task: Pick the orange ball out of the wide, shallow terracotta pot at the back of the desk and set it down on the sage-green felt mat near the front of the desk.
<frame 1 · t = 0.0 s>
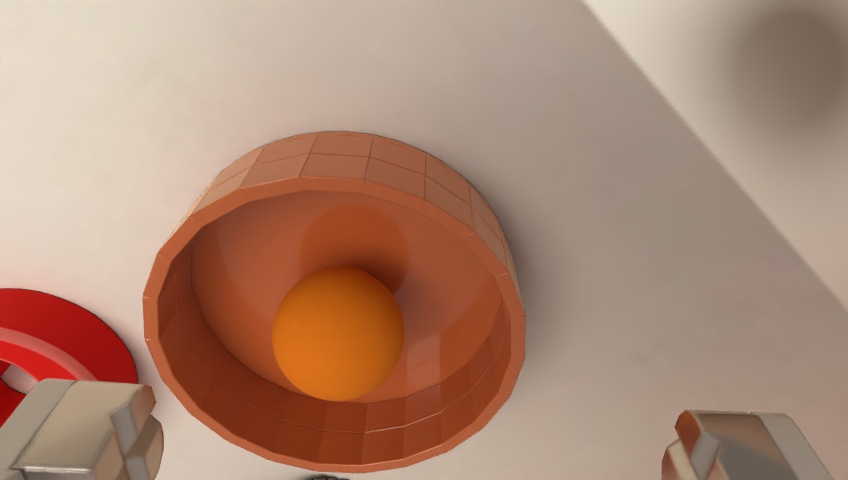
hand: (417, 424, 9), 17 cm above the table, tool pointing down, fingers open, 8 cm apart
pot: (348, 285, 29), on the table
orange: (347, 292, 28), resting on pot
decorative ornament: (45, 361, 32), on the table
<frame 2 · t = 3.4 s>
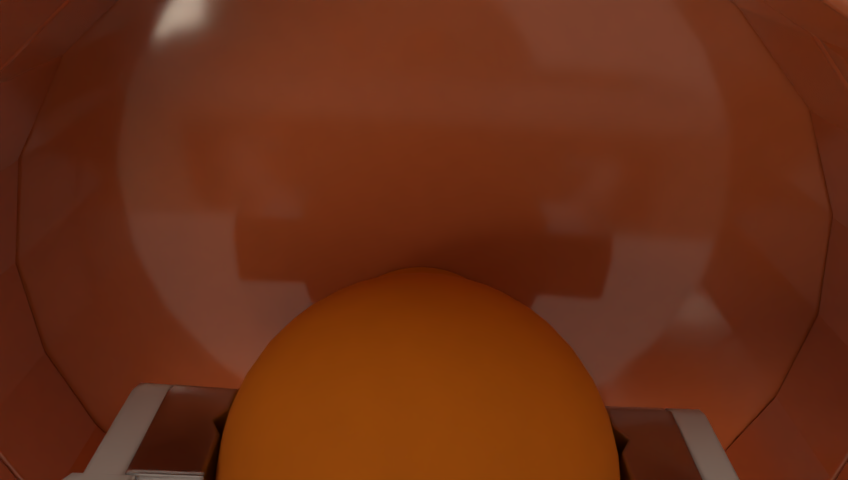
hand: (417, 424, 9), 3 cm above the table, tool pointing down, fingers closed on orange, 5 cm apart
pot: (421, 315, 12), on the table
orange: (421, 332, 11), point 1 cm above the table, touching gripper, pot
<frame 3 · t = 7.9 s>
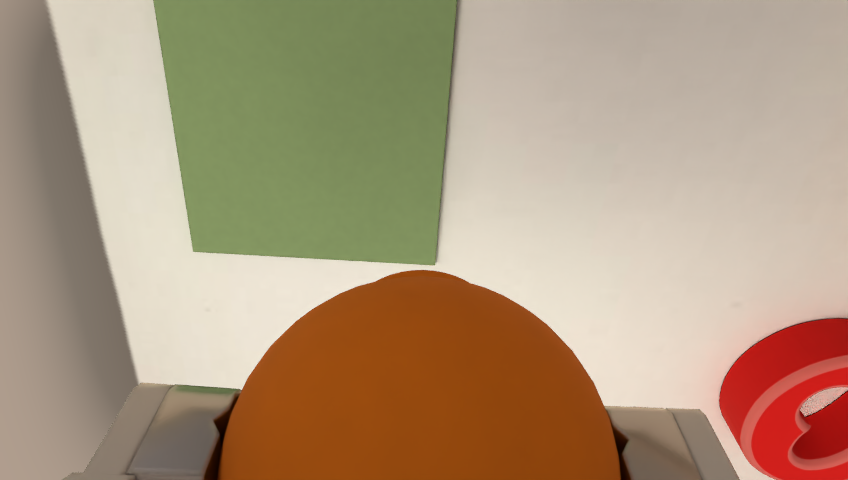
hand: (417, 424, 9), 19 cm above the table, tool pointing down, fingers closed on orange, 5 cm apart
felt mat: (308, 76, 26), on the table
orange: (421, 334, 11), point 17 cm above the table, touching gripper
decorative ornament: (805, 383, 34), on the table
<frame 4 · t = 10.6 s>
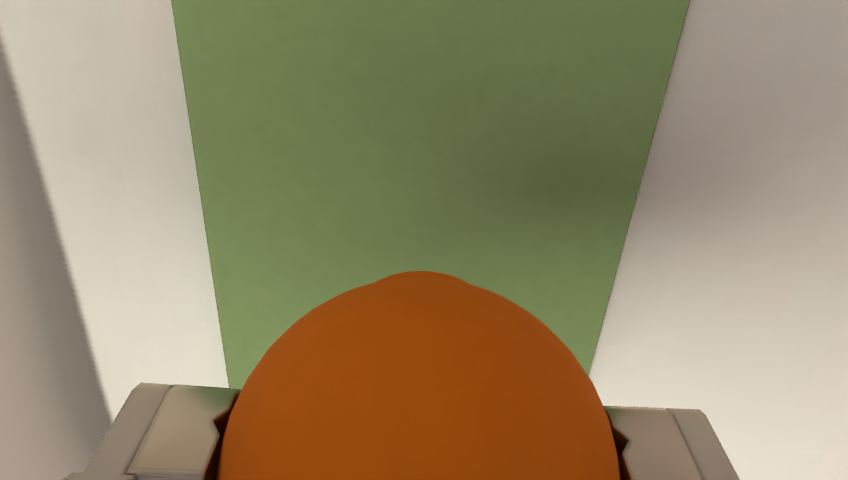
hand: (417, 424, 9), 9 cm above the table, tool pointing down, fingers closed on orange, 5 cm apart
felt mat: (418, 181, 17), on the table
orange: (421, 335, 11), point 6 cm above the table, touching gripper
when the fingers open (2 cm above the table, at t = 12.6 s): orange stays where it is, resting on felt mat.
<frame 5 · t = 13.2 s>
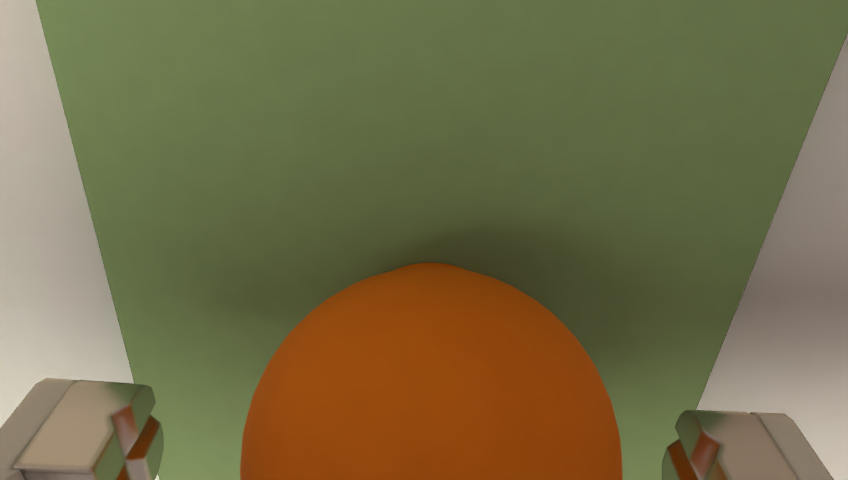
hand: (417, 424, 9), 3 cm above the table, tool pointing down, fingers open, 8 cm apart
felt mat: (423, 310, 12), on the table
orange: (430, 325, 12), resting on felt mat
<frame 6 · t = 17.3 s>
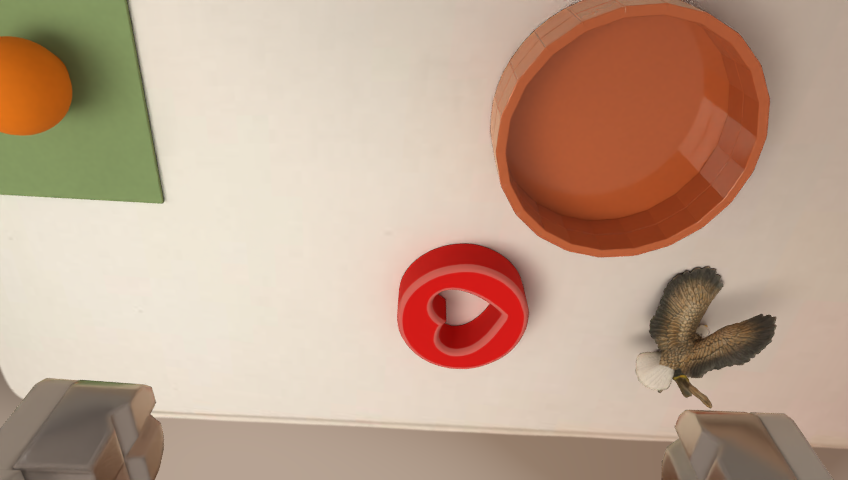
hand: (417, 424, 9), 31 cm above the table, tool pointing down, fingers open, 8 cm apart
pot: (610, 119, 39), on the table
felt mat: (44, 69, 38), on the table
orange: (45, 72, 38), resting on felt mat
decorative ornament: (461, 295, 47), on the table
eagle figurine: (682, 315, 48), on the table
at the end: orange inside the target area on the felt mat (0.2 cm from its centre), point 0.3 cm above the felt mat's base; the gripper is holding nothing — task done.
